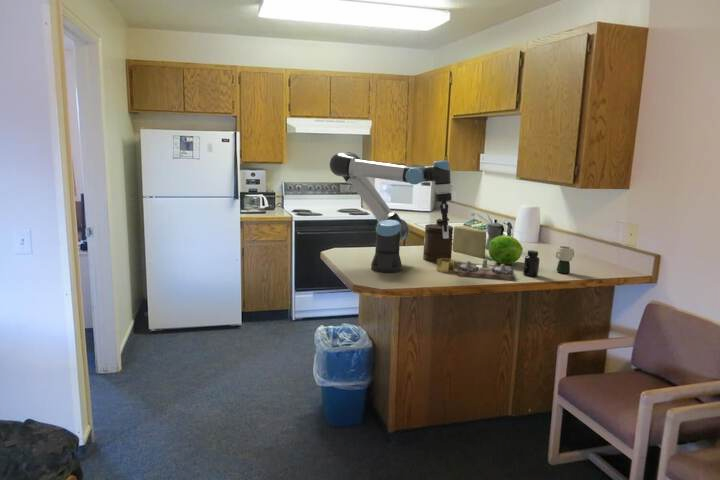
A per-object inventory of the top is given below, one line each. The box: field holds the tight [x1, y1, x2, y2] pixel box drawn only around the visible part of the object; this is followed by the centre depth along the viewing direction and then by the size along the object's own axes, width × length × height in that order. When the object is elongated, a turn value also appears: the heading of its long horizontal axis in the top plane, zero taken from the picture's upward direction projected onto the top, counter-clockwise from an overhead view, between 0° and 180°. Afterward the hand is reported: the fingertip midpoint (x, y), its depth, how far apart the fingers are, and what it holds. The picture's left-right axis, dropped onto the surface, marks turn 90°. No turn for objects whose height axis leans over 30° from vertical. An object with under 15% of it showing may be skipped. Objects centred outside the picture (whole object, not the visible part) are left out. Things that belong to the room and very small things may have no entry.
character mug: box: [555, 245, 575, 274], centre depth 256 cm, size 11×7×13 cm, turn 109°
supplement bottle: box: [522, 249, 540, 278], centre depth 248 cm, size 7×7×12 cm
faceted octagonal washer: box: [436, 258, 455, 273], centre depth 253 cm, size 8×8×5 cm
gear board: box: [456, 258, 515, 281], centre depth 250 cm, size 26×20×6 cm
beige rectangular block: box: [452, 225, 487, 259], centre depth 291 cm, size 22×10×15 cm, turn 29°
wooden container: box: [422, 218, 454, 263], centre depth 273 cm, size 15×15×22 cm
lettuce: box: [487, 234, 524, 265], centre depth 271 cm, size 17×20×15 cm
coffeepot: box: [485, 219, 505, 251], centre depth 305 cm, size 15×9×18 cm, turn 19°
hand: (445, 236), depth 251 cm, fingers open, 13 cm apart
